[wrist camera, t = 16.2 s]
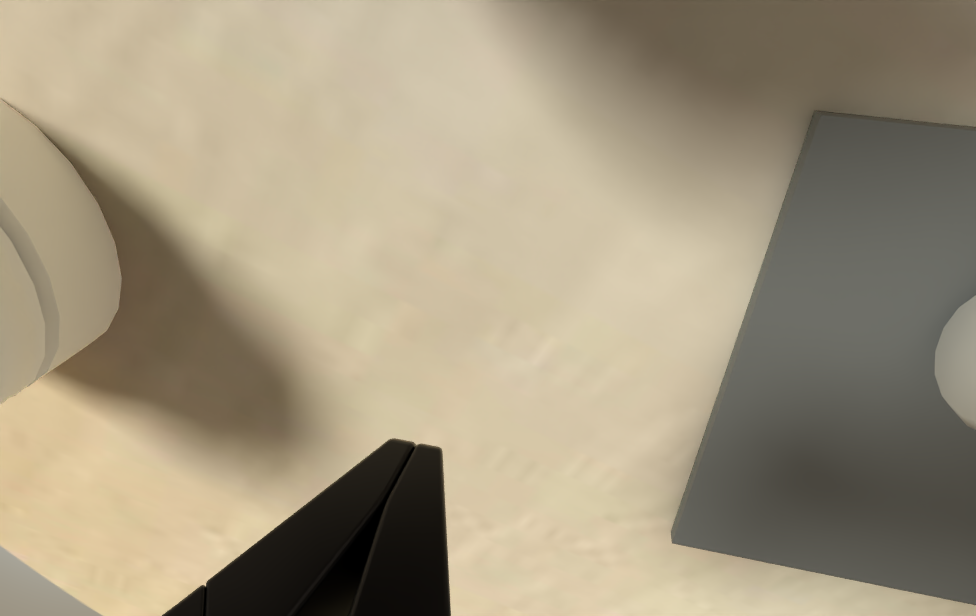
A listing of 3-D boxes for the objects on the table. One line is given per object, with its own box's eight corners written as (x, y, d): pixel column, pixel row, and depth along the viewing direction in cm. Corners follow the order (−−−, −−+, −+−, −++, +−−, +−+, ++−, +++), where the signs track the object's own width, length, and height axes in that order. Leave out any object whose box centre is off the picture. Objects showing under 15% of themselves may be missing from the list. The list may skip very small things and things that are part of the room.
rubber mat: (814, 110, 16) (821, 114, 16) (1401, 170, 14) (1430, 177, 14) (671, 531, 25) (672, 543, 25) (1020, 602, 24) (1028, 616, 23)
